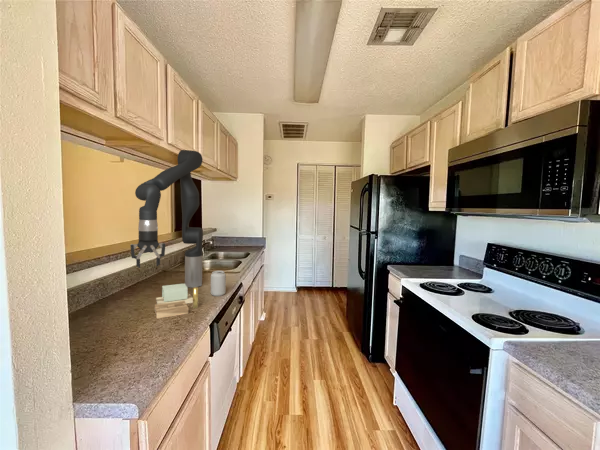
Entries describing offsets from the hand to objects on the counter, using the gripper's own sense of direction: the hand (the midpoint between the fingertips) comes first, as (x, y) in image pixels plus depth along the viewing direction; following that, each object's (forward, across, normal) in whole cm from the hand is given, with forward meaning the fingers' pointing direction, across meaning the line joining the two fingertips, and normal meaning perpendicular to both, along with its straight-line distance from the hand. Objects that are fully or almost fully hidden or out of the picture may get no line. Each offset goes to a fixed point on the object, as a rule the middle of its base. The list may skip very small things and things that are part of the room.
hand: (148, 266), depth 125 cm
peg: (+18, -18, +12) cm, 28 cm away
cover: (+16, -11, 0) cm, 19 cm away
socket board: (+18, -8, +13) cm, 23 cm away
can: (+18, -32, -2) cm, 37 cm away
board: (+18, -11, 0) cm, 21 cm away
